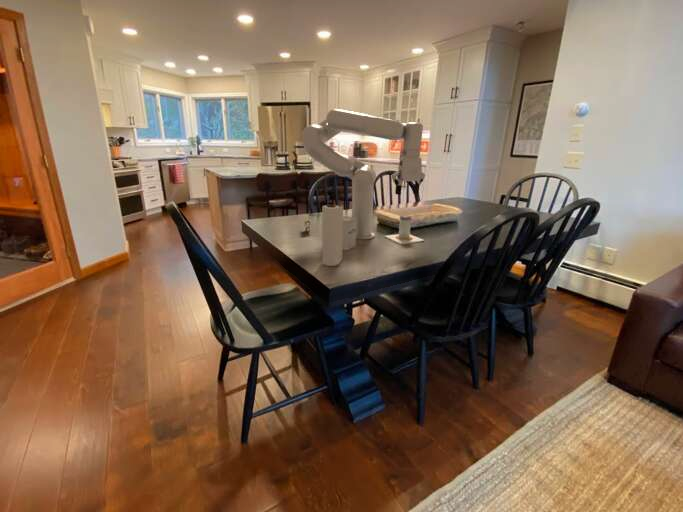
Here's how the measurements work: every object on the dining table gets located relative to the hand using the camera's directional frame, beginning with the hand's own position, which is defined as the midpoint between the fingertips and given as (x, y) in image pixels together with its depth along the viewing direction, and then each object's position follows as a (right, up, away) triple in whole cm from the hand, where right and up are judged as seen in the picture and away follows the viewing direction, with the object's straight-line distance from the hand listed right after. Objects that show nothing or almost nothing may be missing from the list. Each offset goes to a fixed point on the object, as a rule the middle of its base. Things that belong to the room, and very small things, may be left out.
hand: (407, 193), depth 146 cm
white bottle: (-28, -24, -6) cm, 37 cm away
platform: (-46, -16, +16) cm, 51 cm away
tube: (0, -19, +7) cm, 20 cm away
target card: (0, -20, +7) cm, 21 cm away
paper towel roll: (-33, -31, -25) cm, 51 cm away
